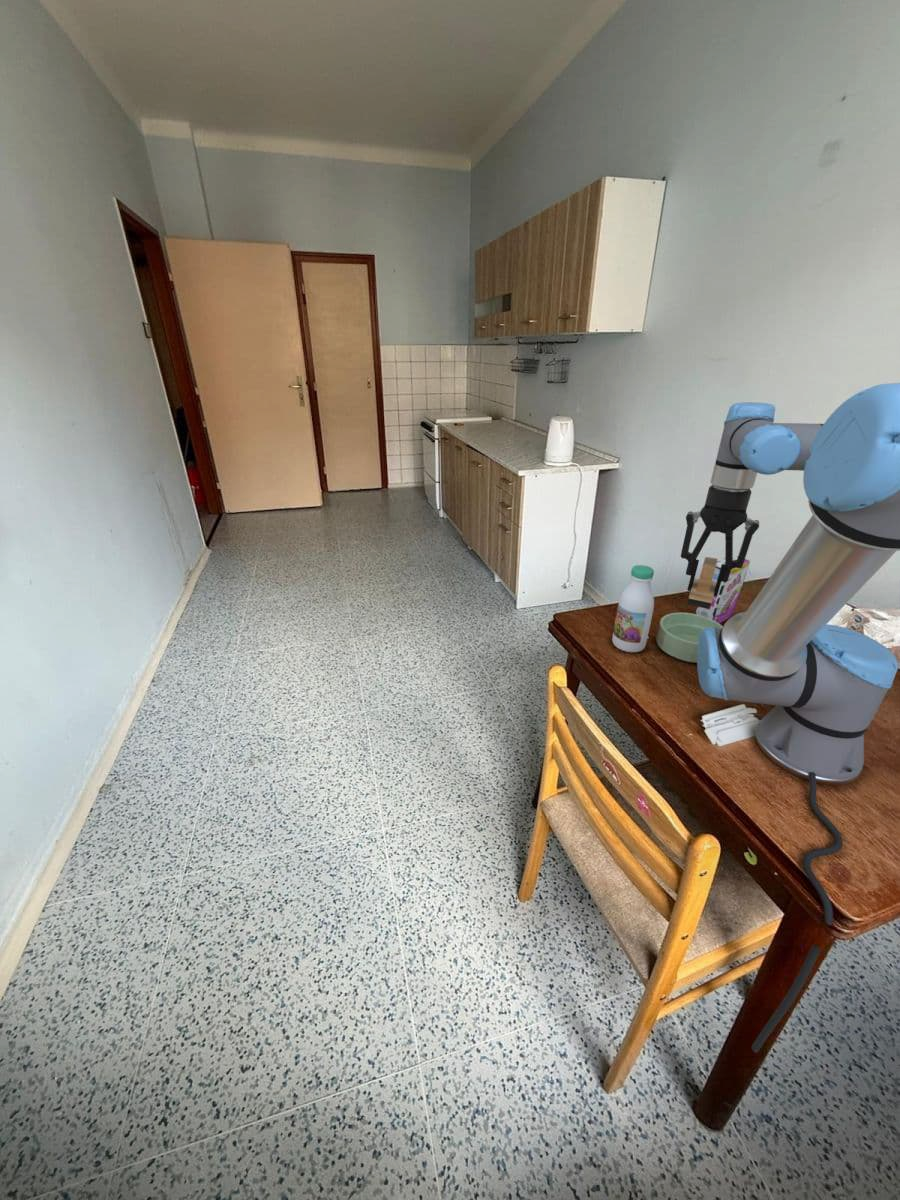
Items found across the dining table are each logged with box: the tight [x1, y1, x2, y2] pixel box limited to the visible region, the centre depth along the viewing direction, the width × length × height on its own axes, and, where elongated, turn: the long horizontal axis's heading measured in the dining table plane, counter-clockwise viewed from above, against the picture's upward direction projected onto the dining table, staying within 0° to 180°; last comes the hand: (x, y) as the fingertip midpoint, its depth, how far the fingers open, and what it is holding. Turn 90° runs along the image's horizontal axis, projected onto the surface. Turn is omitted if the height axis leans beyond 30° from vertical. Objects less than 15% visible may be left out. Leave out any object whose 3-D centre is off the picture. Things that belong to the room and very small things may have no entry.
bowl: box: [655, 612, 724, 664], centre depth 111 cm, size 14×14×6 cm
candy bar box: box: [694, 554, 751, 625], centre depth 119 cm, size 11×5×16 cm, turn 126°
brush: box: [686, 556, 718, 609], centre depth 103 cm, size 8×4×9 cm, turn 149°
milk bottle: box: [611, 564, 655, 653], centre depth 109 cm, size 8×8×20 cm
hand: (702, 590), depth 105 cm, fingers closed on brush, 4 cm apart
